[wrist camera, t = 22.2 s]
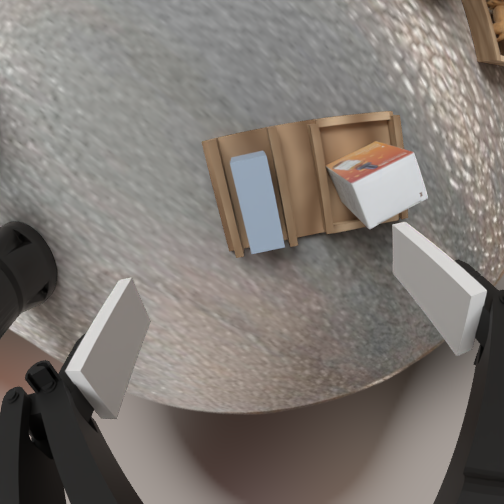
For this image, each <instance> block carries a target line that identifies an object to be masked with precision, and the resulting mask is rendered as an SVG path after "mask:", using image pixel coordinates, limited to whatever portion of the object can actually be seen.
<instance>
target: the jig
mask: <svg viewBox="0 0 504 504" xmlns="http://www.w3.org/2000/svg"><path fill="white" fill-rule="evenodd" d="M375 141H378V142H381V143H385V144H388V145H392V146H395V147H398V148H402V149H404V146H403V137H402V128H401V121H400V115H393V112H392V111H385V112H373V113H362V114H352V115H343V116H335V117H327V118H320V119H313V120H306V121H300V122H294V123H288V124H282V125H276V126H271V127H265V128H260V129H255V130H250V131H245V132H241V133H236V134H231V135H227V136H223V137H218V138H214V139H210V140H206V141H202V145H203V149H204V153H205V157H206V162H207V166H208V170H209V174H210V178H211V182H212V186H213V190H214V194H215V198H216V201H217V205H218V209H219V213H220V217H221V221H222V225H223V229H224V233H225V236H226V240H227V244H228V248H229V251H235V255H236V258H238V257H243V256H244V248H248V247H250V245H249V241H248V237H247V233H246V228H245V224H244V220H243V216H242V212H241V208H240V204H239V199H238V195H237V191H236V187H235V183H234V179H233V174H232V170H231V166H230V161H231V157H236V156H240V155H245V154H249V153H254V152H259V151H264V152H265V154H266V156H267V161H268V165H269V170H270V175H271V180H272V184H273V189H274V194H275V199H276V204H277V209H278V214H279V219H280V224H281V229H282V234H283V240H287V239H288V242H289V244H290V247H292V246H297V245H298V242H297V237H302V236H307V235H312V234H317V233H322V232H326V234H330V233H337V232H342V231H347V230H352V229H357V228H362V227H366V226H365V225H364V224H363V223H362V222H361V221H360V220H359V219H358V218H357V217H356V216H355V215H354V214H353V213H352V212H351V211H350V210H349V209H348V208H347V207H346V206H345V205H344V204H343V203H342V202H341V199H340V197H339V195H338V193H337V191H336V189H335V186H334V184H333V182H332V180H331V178H330V175H329V173H328V171H327V169H326V165H328V164H330V163H332V162H334V161H336V160H338V159H340V158H342V157H344V156H346V155H348V154H351V153H353V152H355V151H357V150H359V149H361V148H363V147H365V146H367V145H369V144H371V143H373V142H375ZM399 217H400V218H401V219H405V218H408V209H406V210H404V211H403V212H401V213H399V214H397V215H395V216H393V217H391V218H390V219H388V220H386V221H384V222H382V223H387V222H392V221H397V220H399ZM382 223H380V224H382Z"/></svg>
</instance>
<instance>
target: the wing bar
mask: <svg viewBox="0 0 504 504" xmlns="http://www.w3.org/2000/svg"><path fill="white" fill-rule="evenodd" d="M230 166H231V170H232V174H233V179H234V183H235V187H236V191H237V195H238V199H239V204H240V208H241V212H242V216H243V220H244V224H245V228H246V233H247V237H248V241H249V245H250V249H251V253H252V254H255V253H260V252H265V251H270V250H274V249H279V248H284V247H285V245H284V240H283V234H282V229H281V224H280V219H279V214H278V209H277V204H276V199H275V194H274V189H273V184H272V180H271V175H270V170H269V165H268V161H267V156H266V154H265V152H264V151H259V152H254V153H249V154H245V155H240V156H236V157H231V161H230Z"/></svg>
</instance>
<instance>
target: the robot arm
mask: <svg viewBox="0 0 504 504" xmlns="http://www.w3.org/2000/svg"><path fill="white" fill-rule="evenodd" d="M392 232H393V274H394V275H395V277H396V278H397V279H398V280H399V281H400V283H401V284H402V285H403V286H404V287H405V289H406V290H407V291H408V292H409V294H410V295H411V296H412V297H413V299H414V300H415V301H416V302H417V304H418V305H419V306H420V308H421V309H422V310H423V311H424V313H425V314H426V315H427V317H428V318H429V319H430V321H431V322H432V323H433V325H434V326H435V327H436V329H437V330H438V331H439V333H440V334H441V335H442V337H443V338H444V339H445V341H446V342H447V343H448V345H449V346H450V348H451V349H452V350H453V352H454V353H455V355H456V356H459V355H461V354H463V353H466V352H468V351H470V350H472V347H473V344H474V340H475V338H476V339H477V340H478V342H479V343H480V347H479V350H478V353H477V356H476V359H475V362H474V365H476V367H475V373H474V378H473V383H472V388H471V392H470V397H469V401H468V406H467V409H466V413H465V417H464V421H463V424H462V428H461V432H460V435H459V438H458V441H457V444H456V448H455V450H454V453H453V456H452V459H451V462H450V465H449V467H448V470H447V473H446V475H445V478H444V480H443V483H442V485H441V488H440V490H439V492H438V495H437V497H436V499H435V501H434V504H504V290H500V291H499V290H497V289H496V288H495V287H494V286H493V285H492V284H491V283H490V282H489V281H487V280H486V279H485V278H484V277H483V276H481V274H479V273H478V272H477V271H475V269H473V268H472V267H471V266H470V265H469V264H467V263H465V262H463V261H460V260H455V261H454V260H453V259H451V258H450V257H449V256H448V255H447V254H445V253H444V252H443V251H442V250H441V249H439V248H438V247H437V246H436V245H434V244H433V243H432V242H431V241H429V240H428V239H427V238H426V237H424V236H423V235H422V234H421V233H419V232H418V231H417V230H415V229H414V228H413V227H412V226H410V225H409V224H408V223H406V222H402V223H397V224H392ZM56 281H57V271H56V265H55V261H54V258H53V255H52V253H51V251H50V249H49V247H48V245H47V244H46V242H45V241H44V239H43V238H42V237H41V236H40V235H39V234H38V233H37V232H36V231H35V230H34V229H33V228H31V227H30V226H28V225H26V224H24V223H21V222H9V223H7V224H5V225H4V226H2V227H0V338H1V337H2V336H3V335H4V333H5V332H6V331H7V330H8V328H9V327H10V326H11V325H12V323H13V322H14V321H15V320H16V318H17V317H18V316H19V315H20V314H21V313H22V312H25V311H27V310H29V309H31V308H33V307H36V306H38V305H40V304H42V303H43V302H44V301H45V300H46V299H47V298H48V297H49V296H50V295H51V294H52V292H53V291H54V289H55V286H56ZM150 322H151V320H150V318H149V316H148V314H147V311H146V309H145V307H144V305H143V302H142V300H141V298H140V295H139V293H138V291H137V288H136V286H135V284H134V281H133V279H132V278H127V279H122V280H119V281H118V283H117V284H116V286H115V287H114V289H113V290H112V292H111V294H110V295H109V297H108V298H107V300H106V302H105V303H104V305H103V306H102V308H101V310H100V311H99V313H98V314H97V316H96V318H95V319H94V321H93V323H92V324H91V326H90V328H89V329H88V331H87V333H86V334H84V335H83V336H82V337H81V338H80V339H79V340H78V341H77V342H76V344H75V345H74V347H73V349H72V351H71V352H70V354H69V357H67V359H66V361H65V363H64V365H63V366H62V368H61V370H60V372H59V374H58V373H57V372H56V371H55V369H54V368H53V366H52V365H51V364H50V362H49V361H46V360H45V361H40V362H38V363H36V364H34V365H33V366H32V367H31V368H30V369H29V370H28V371H27V373H26V376H25V379H26V381H27V382H28V384H29V385H30V386H31V387H32V389H33V390H34V391H35V393H33V394H29V395H27V393H26V392H25V391H24V390H23V388H22V387H15V388H13V389H10V390H9V391H8V392H7V393H6V395H5V396H4V398H3V401H2V406H1V412H0V504H66V499H65V492H64V488H65V491H66V493H67V495H68V498H69V500H70V503H71V504H143V502H142V501H141V499H140V498H139V496H138V495H137V493H136V492H135V490H134V489H133V487H132V486H131V484H130V482H129V481H128V479H127V478H126V476H125V474H124V473H123V471H122V469H121V468H120V466H119V464H118V463H117V461H116V459H115V458H114V456H113V454H112V452H111V450H110V448H109V447H108V445H107V443H106V441H105V439H104V437H103V435H102V433H101V431H100V430H99V427H98V425H97V424H96V422H95V421H94V419H93V418H92V417H91V416H92V413H93V411H94V410H95V411H96V413H97V414H98V415H99V416H100V417H101V418H103V419H117V416H118V413H119V410H120V407H121V404H122V401H123V397H124V395H125V392H126V389H127V386H128V383H129V380H130V377H131V374H132V371H133V368H134V366H135V363H136V360H137V357H138V354H139V352H140V349H141V346H142V343H143V341H144V338H145V335H146V333H147V330H148V327H149V325H150ZM29 435H30V436H31V437H32V438H31V439H32V440H31V439H30V437H29Z"/></svg>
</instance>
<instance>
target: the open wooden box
mask: <svg viewBox="0 0 504 504" xmlns="http://www.w3.org/2000/svg"><path fill="white" fill-rule="evenodd" d="M486 1H487V2H488V1H490V0H462V3H463V6H464V9H465V13H466V16H467V20H468V23H469V27H470V30H471V34H472V38H473V42H474V47H475V51H476V56H477V61H478V62H482V63H488V64H494V65H499V66H504V40H501V41H499V42H498V43H499V47H500V51H499V47H498V43H497V38H496V34H495V32H494V27H493V23H494V20H493V15H492V14H491V16H492V20H493V23H492V20H491V16H490V13H489V10H488V7H487V3H486ZM489 8H490V7H489ZM491 9H494V8H491ZM500 52H501V55H500Z"/></svg>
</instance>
